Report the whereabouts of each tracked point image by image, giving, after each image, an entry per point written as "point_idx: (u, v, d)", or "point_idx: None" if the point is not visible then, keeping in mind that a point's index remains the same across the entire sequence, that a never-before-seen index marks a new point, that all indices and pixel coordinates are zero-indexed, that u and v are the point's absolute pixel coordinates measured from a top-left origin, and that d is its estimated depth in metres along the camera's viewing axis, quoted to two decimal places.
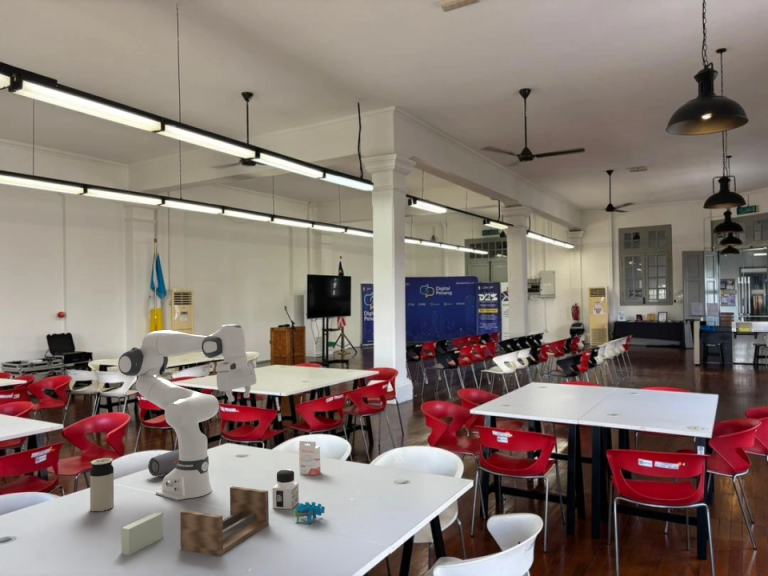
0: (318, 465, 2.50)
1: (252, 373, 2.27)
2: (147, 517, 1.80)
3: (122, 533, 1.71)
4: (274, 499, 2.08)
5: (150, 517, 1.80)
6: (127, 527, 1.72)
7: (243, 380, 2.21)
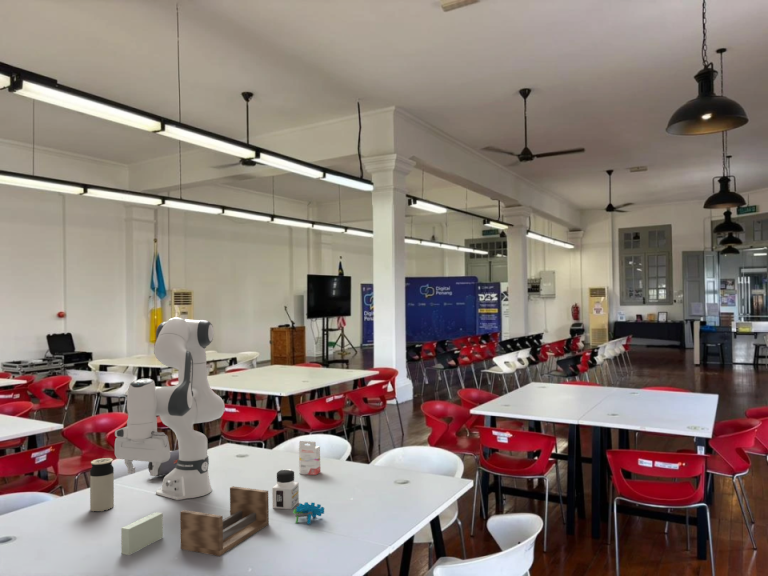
0: (318, 465, 2.50)
1: (156, 448, 1.74)
2: (147, 517, 1.80)
3: (122, 533, 1.71)
4: (274, 499, 2.08)
5: (150, 517, 1.80)
6: (127, 527, 1.72)
7: (141, 454, 1.76)
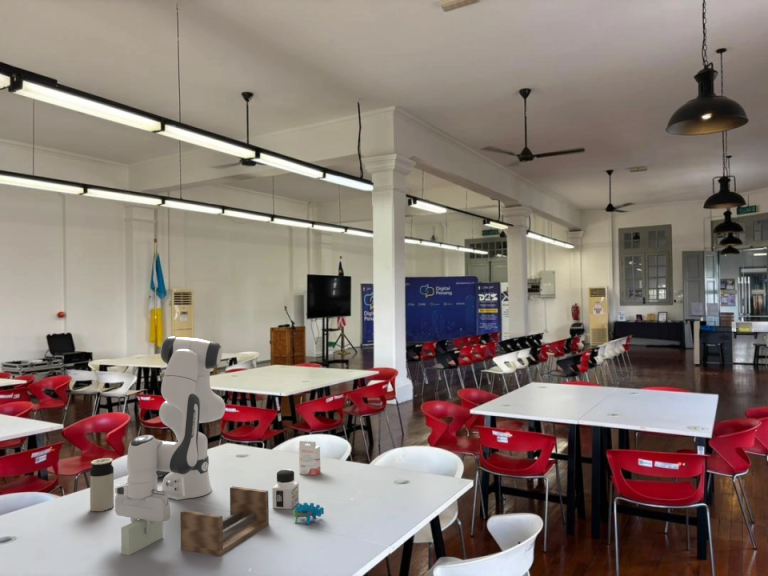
0: (318, 465, 2.50)
1: (156, 507, 1.73)
2: None
3: (122, 533, 1.71)
4: (274, 499, 2.08)
5: None
6: (127, 527, 1.72)
7: (141, 512, 1.75)
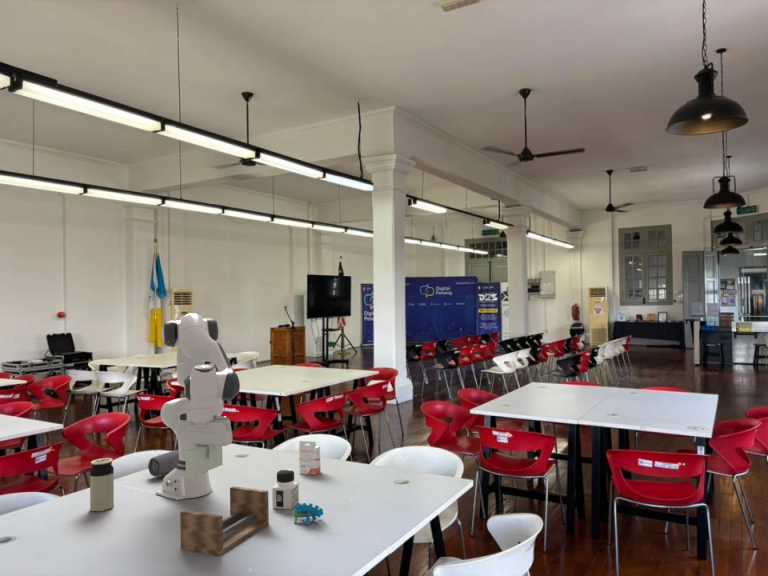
0: (318, 465, 2.50)
1: (219, 431, 1.78)
2: None
3: (186, 455, 1.76)
4: (274, 499, 2.08)
5: None
6: (191, 450, 1.77)
7: (204, 437, 1.80)
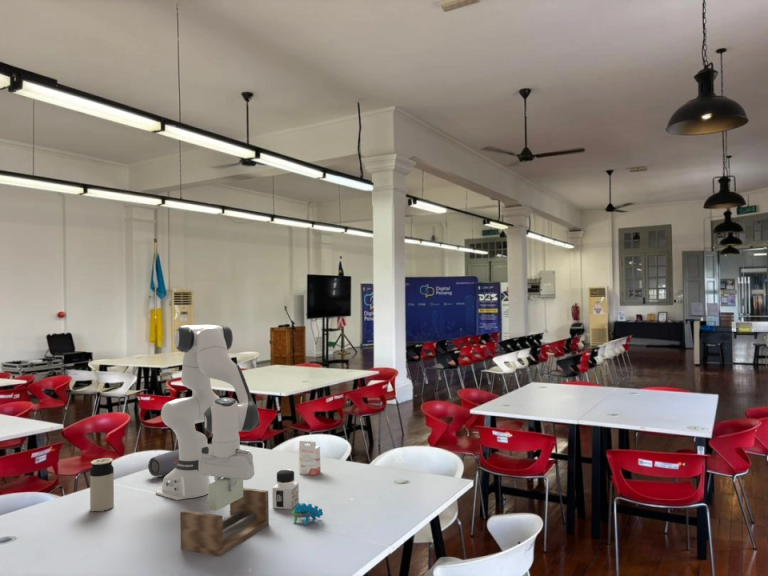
0: (318, 465, 2.50)
1: (242, 465, 1.79)
2: None
3: (209, 489, 1.78)
4: (274, 499, 2.08)
5: None
6: (214, 484, 1.78)
7: (226, 471, 1.82)
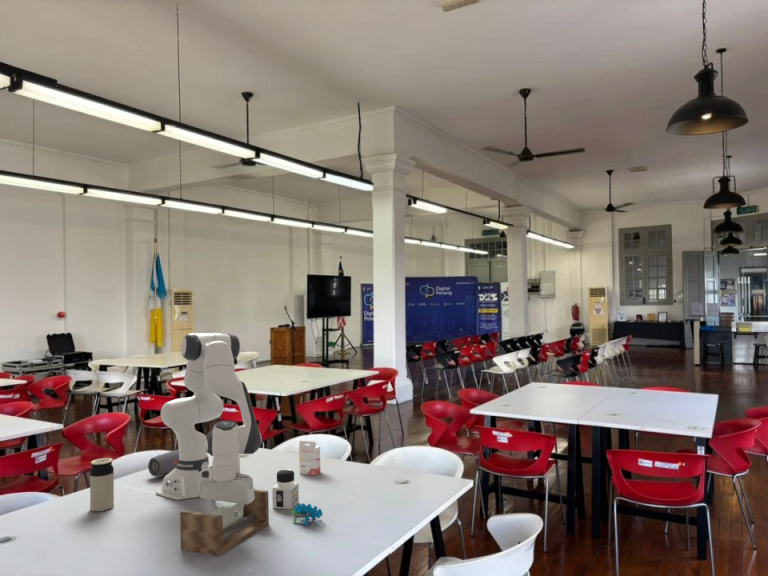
0: (318, 465, 2.50)
1: (242, 490, 1.79)
2: (229, 504, 1.86)
3: None
4: (274, 499, 2.08)
5: (232, 504, 1.86)
6: (214, 513, 1.78)
7: (226, 495, 1.81)
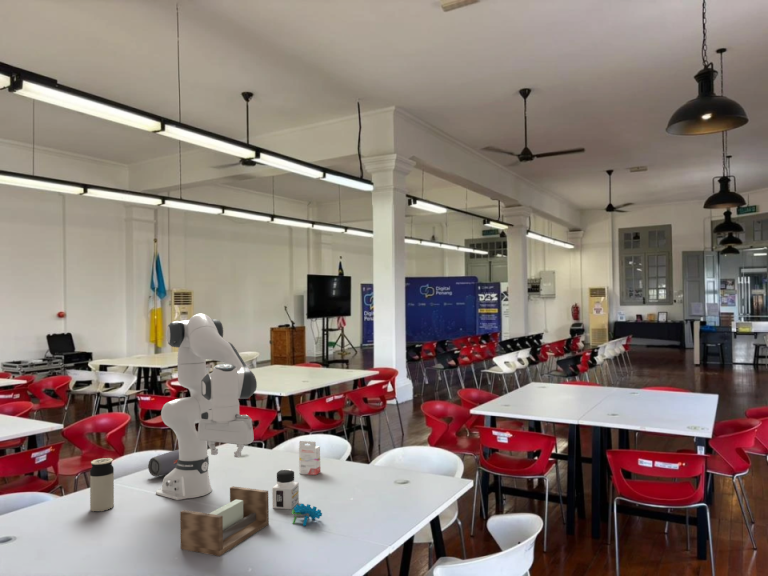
0: (318, 465, 2.50)
1: (241, 430, 1.80)
2: (229, 504, 1.86)
3: None
4: (274, 499, 2.08)
5: (232, 504, 1.86)
6: (214, 513, 1.78)
7: (226, 436, 1.82)
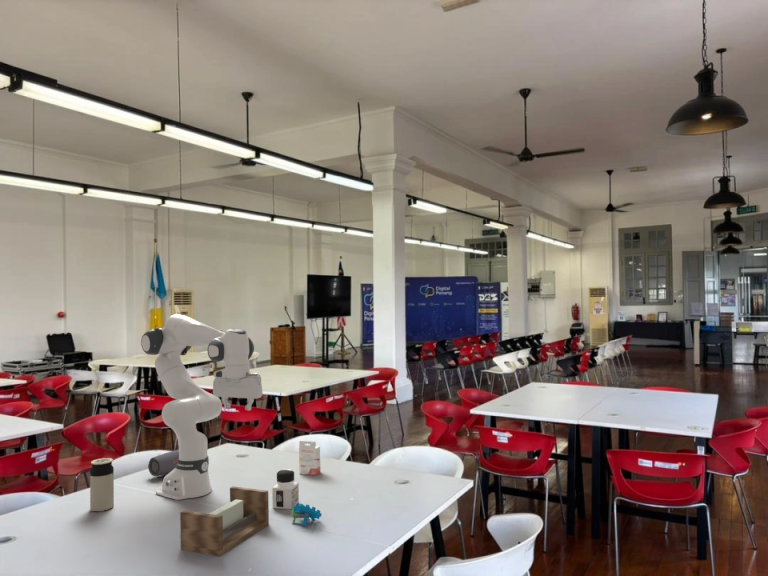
0: (318, 465, 2.50)
1: (251, 386, 2.04)
2: (229, 504, 1.86)
3: None
4: (274, 499, 2.08)
5: (232, 504, 1.86)
6: (214, 513, 1.78)
7: (238, 391, 2.06)
